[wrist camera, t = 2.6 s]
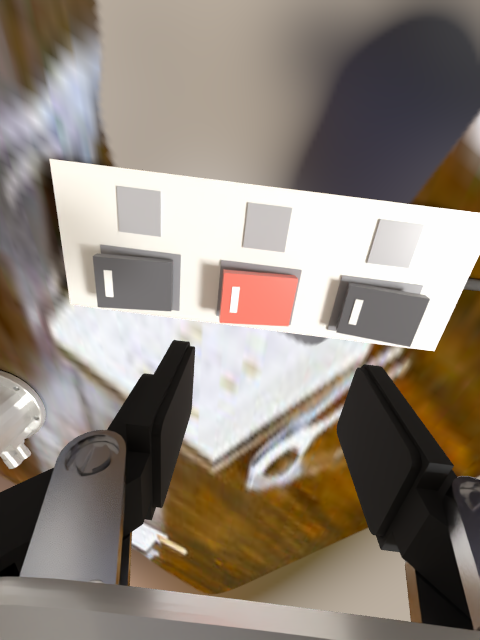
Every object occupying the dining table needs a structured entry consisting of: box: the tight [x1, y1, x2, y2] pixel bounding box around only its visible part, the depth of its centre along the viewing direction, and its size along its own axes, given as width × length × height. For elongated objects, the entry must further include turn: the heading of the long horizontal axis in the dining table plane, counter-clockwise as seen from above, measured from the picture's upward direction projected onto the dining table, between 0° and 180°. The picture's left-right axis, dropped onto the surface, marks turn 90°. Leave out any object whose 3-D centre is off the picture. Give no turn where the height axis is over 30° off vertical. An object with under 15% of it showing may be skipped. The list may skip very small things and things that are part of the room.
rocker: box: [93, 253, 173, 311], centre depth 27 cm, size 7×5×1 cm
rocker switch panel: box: [49, 159, 480, 351], centre depth 30 cm, size 53×14×4 cm, turn 83°
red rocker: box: [219, 269, 298, 326], centre depth 27 cm, size 7×5×1 cm
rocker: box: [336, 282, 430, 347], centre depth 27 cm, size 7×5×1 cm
